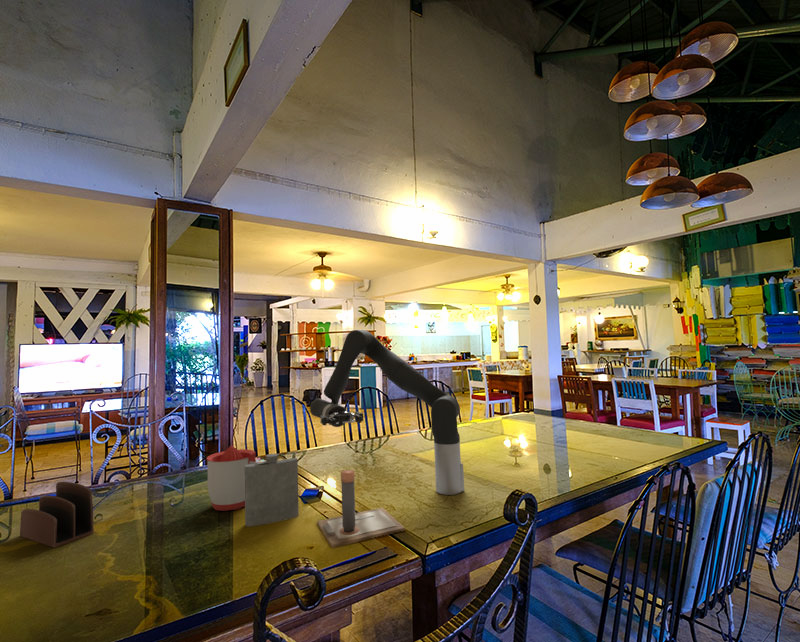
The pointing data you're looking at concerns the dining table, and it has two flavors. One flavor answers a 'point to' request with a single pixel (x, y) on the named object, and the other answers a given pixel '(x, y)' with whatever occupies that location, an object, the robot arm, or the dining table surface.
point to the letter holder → (60, 516)
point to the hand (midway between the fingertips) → (347, 421)
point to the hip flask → (271, 491)
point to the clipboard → (359, 527)
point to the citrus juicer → (228, 477)
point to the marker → (348, 500)
